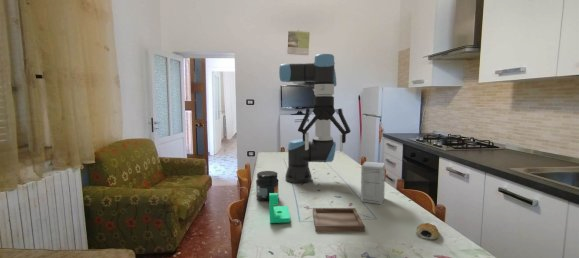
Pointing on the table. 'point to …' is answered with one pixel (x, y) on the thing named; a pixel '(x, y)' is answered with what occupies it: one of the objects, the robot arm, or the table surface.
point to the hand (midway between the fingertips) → (323, 150)
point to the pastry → (427, 231)
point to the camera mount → (277, 210)
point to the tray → (337, 220)
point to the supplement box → (372, 182)
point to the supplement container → (266, 184)
